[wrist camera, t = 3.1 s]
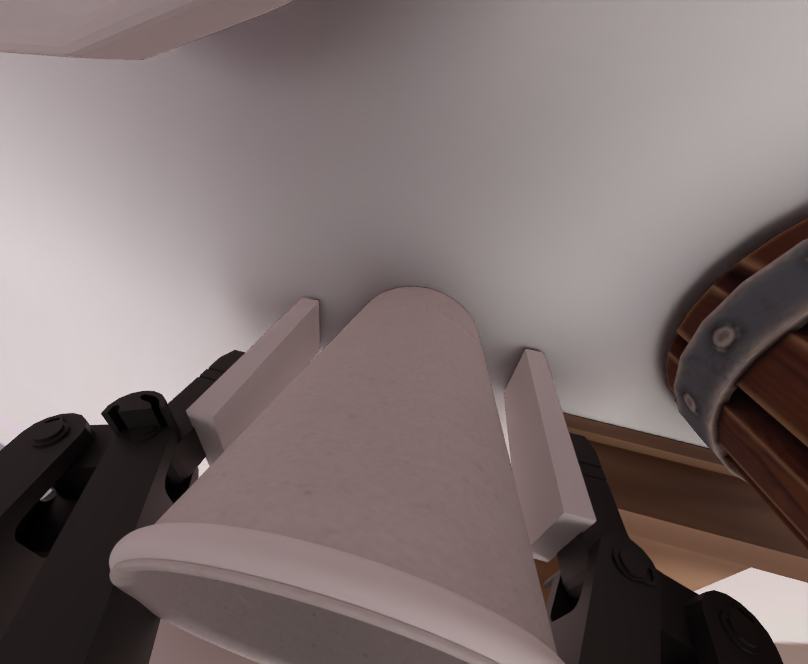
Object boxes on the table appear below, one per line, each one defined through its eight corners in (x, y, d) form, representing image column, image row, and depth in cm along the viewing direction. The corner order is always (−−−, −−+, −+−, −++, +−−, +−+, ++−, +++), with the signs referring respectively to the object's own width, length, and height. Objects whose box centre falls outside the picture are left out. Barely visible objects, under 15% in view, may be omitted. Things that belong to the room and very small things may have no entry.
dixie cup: (379, 208, 10) (58, 473, 2) (558, 331, 12) (744, 775, 4) (304, 352, 15) (109, 607, 7) (438, 429, 17) (403, 718, 8)
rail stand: (552, 410, 14) (573, 488, 11) (872, 489, 13) (995, 599, 10) (471, 531, 22) (470, 596, 19) (664, 586, 21) (697, 664, 18)
